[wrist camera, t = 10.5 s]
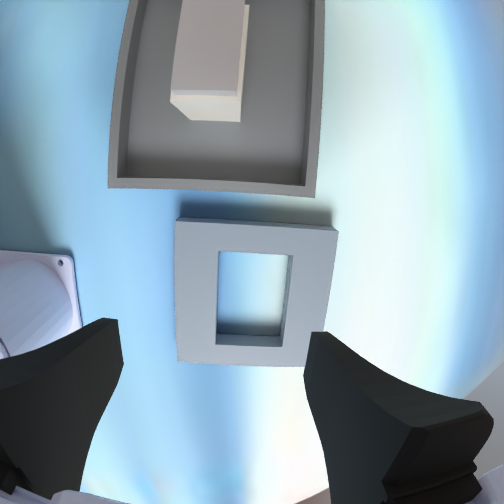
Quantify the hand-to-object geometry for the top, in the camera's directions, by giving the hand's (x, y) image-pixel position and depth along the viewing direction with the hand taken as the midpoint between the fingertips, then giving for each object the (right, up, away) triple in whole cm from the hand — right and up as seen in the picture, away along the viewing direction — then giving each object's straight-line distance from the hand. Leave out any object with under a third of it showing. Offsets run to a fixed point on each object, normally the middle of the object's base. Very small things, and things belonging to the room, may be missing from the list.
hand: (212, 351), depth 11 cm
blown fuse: (-1, +14, +6) cm, 15 cm away
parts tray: (-1, +14, +7) cm, 16 cm away
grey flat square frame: (+1, +1, +11) cm, 11 cm away
